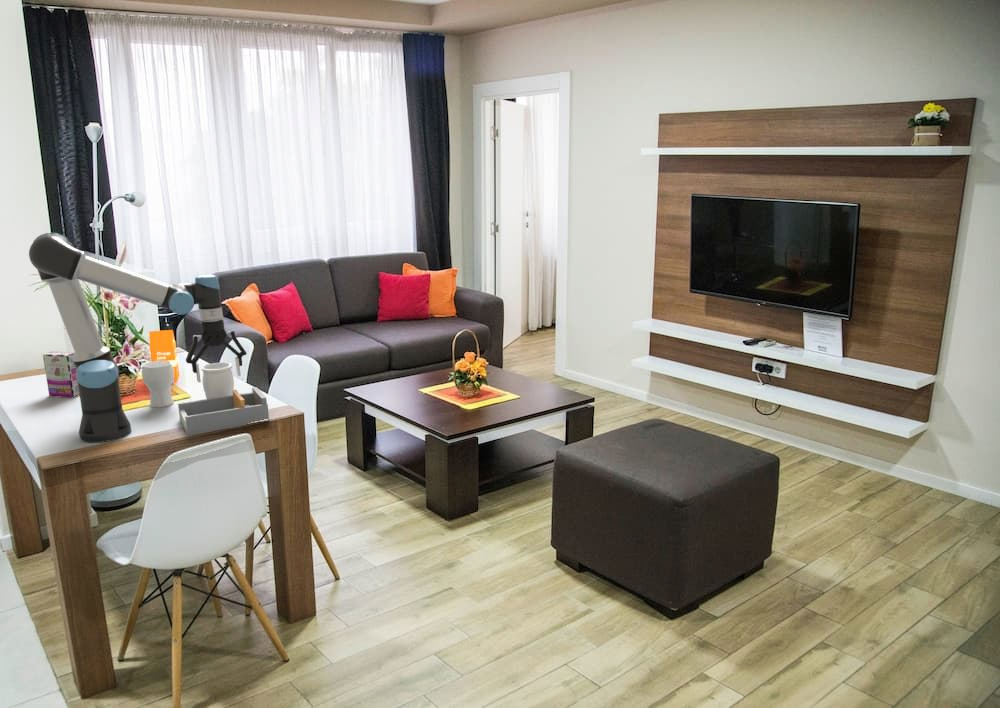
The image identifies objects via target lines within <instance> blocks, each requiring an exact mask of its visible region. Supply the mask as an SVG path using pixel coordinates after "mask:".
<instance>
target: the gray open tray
mask: <svg viewBox="0 0 1000 708" xmlns="http://www.w3.org/2000/svg"><path fill="white" fill-rule="evenodd" d="M251 390H252V391H251V392H245V393H239V394H240V395H241V396H242V398H243V399H244V401H245V405H249V406H247V407H241V408H234V402H233V395H231V396H224V397H217V398H211V399H207V398H206V399H198V400H191V401H185V402H180V403H179V402H178V403H177V406H178V414H179V421H180V423H181V425H182V427H183V429H184V431H185V432H186V435H187V434H188V436H189V435H190V436H191V435H195V434H201V433H207V432H208V433H209V432H213V431H219V430H220V431H221V430H226V429H231V428H237V427H238V428H239V427H243V426H242V425H244V424H248V423H251V422H255V421H260V420H264V419H269V420H270V416H269V405H268V401H267V396H265V394H264V393H263V392H262V391H261V390H260V389H259V387H256V386H255V387H251ZM244 426H245V425H244Z"/></svg>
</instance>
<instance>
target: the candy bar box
mask: <svg viewBox="0 0 1000 708" xmlns="http://www.w3.org/2000/svg"><path fill="white" fill-rule="evenodd" d="M74 355H75V352H72V351H71V352H69V351H68V352H67V351H50V352H46V353H44V354H42V358H43V363H44V370H45V377H46V378H45V379H46V383H47V389H48V396H49V397H55V396H61V397H60V398H72V397H74V398H77V397H79V396H80V394H79V388H78V381H77V379H76V374H77V373H76V368H75V365H74V363H73V360H72V359H73V357H74ZM78 395H79V396H78ZM76 396H77V397H76Z"/></svg>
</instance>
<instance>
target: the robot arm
mask: <svg viewBox="0 0 1000 708" xmlns="http://www.w3.org/2000/svg"><path fill="white" fill-rule="evenodd" d="M28 257H29V260H30V263H31V265H33V266H34V268H35V269H36V270H37V272H38V275H39V277H40V280H41V281H42V282H43V283H44V282H45V283H46V284H48V286H49V289H50V291H51V294H52V296H53V299H54V301H55V305H56V306H57V309H58V312H59V314H60V317H61V319H62V322H63V324H64V327H65V330H66V333H67V335H68V338H69V340H70V343H71V345H72V348H73V351H74V353H75V355H74V357H73V359H72V360H73V363H74V365H75V368H76V373H77V374H76V379H77V381H78V388H79V394H80V395H79V401H80V407H81V412H82V413H81V414H82V415H81V420H80V425H79V429H78V436H79V439H80V440H81V441H82V442H86V443H101V442H102V441H104V442H109V441H108V440H110V441H114V439H115V440H117V438H118V439H121V438H124V437H126V436H128V435H129V434H131V432H132V426H131V425H132V424H131V423H130V421H129V418H128V417H127V415H126V413H125V411H124V408H123V405H122V404H123V403H122V397H121V390H120V388H121V387H120V380H119V379H120V378H119V376H120V370H119V367H118V365H117V363H116V361H115V360H114V356H113V355H112V352H111V349H110V348H109V347H108V346H105V345H104V344H103V341H102V339H101V336H100V334H99V331H98V328H97V326H96V324H95V320H94V318H93V315H92V312H91V310H90V307H89V304H88V302H87V299H86V296H85V294H84V291H83V289H82V285H81V283H80V281H83V282H86V283H89V284H92V285H94V286H97V287H101V288H103V289H107V290H110V291H111V292H113V291H114V292H116V293H118V294H122V295H125V296H129V297H131V298H134V299H137V300H139V301H143V302H146V303H149V304H153V305H155V306H159V307H160V308H163V309H167V310H170V311H171V312H172V313H175V314H176V315H182V316H183V315H187V314H189V313H190V312H191V311H192V310H193V309H194V306H195V305H198V311H199V318H200V319H199V320H201V321H200V327H201V335H197V334H193V335H192V342H191V344H190V347H189V350H188V353H187V356H186V357H185V358H186V359H185V362H186V363H187V364H190V365H191V367H192V372H193V373H194V374H196V381H197V383H201V382H202V380H201V375H200V365H199V362H198V361H199V360H200V358H201V357H202V355H203V354H204V353H205V351H206V350H207V348H209V347H215V346H221V345H224V346H225V347H226V348H227V349H228V350H230V351H231V353H233V354H234V355H235V357H234V361H235V370H236V375H237V376H238V377H241V366H243V359H242V358H243V356H246V355H248V353H247V351H246V350H245V349H244V346H242V344H241V342H239V340H238V338H237V337H236V333H235V331H234V330H232V329H230V330H229V331H226V330H225V321H224V319H223V318H224V313H223V306H222V296H221V287H220V283H219V277H218V276H217V275H215V274H202V275H201V274H200V275H197V276H196V277H195V279H194V281H193V282H187V283H175V284H167V283H165V282H162V281H158V280H156V279H154V278H151V277H149V276H148V277H147V276H145V275H141V274H138V273H135V272H133V271H130V270H127V269H124V268H122V267H119V266H116V265H113V264H110V263H107V262H104V261H102V260H98V259H95V258H93V257H90V256H87V255H86V253H85V252H84V251H82V250H80V249H77V248H76V247H74V244H73V242H71V240H70V239H69V238H68V237H66V236H65V235H64V234H60V233H57V232H46V233H43V234H40V235H39V236H37V237H36V238H35V239H34V240H33V242H32V244H31V245H30V247H29V250H28ZM227 336H228V337H229V338H231V340H232V341H233V342H234V344H235V345H236V346H237V348H238V349H239V351H240V352H239V351H238V350H237V349H235V348H234V347H233V346H232V345H231V344H230V343H228V342H227V341H226V338H227ZM200 340H202V341H203V343H202V344H201V346H200V348H199V349H198V350H197V352H196V354H195V355H194V353H195V351H196V349H197V345H198V343H199V342H200ZM125 435H126V436H125ZM123 436H124V437H123ZM120 437H121V438H120Z"/></svg>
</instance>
